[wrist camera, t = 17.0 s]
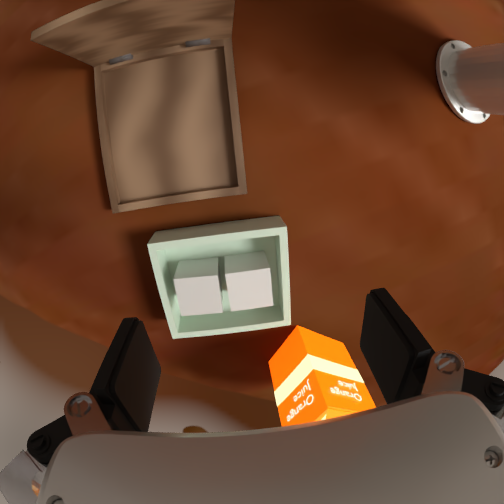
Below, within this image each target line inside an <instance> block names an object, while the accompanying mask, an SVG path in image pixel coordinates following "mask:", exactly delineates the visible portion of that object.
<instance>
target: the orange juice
mask: <svg viewBox="0 0 504 504" xmlns="http://www.w3.org/2000/svg"><path fill="white" fill-rule="evenodd" d="M269 367H270V372H271V377H272V381H273V386H274V391H275V392H274V393H275V398H276V403H277V406H278V410H279V415H280V420H281V425H282V426H289V425H296V424H302V423H308V422H314V421H319V420H325V419H330V418H334V417H339V416H344V415H348V414H352V413H356V412H360V411H364V410H368V409H372V408H376V406H375V404H374V402H373V400H372V398H371V396H370V394H369V392H368V390H367V388H366V386H365V384H364V382H363V380H362V378H361V376H360V374H359V372H358V370H357V369H356V367H355V365H354V363H353V361H352V359H351V357H350V355H349V353H348V352H347V350H346V348H345V346H344V344H343V343H342V342H339V341H336V340H334V339H331V338H328V337H326V336H323V335H321V334H318V333H315V332H313V331H310V330H308V329H305V328H303V327H300V326H298V325H297V326H296V327H295V329H294V330H293V331H292V333H291V334H290V335H289V337H288V338H287V339H286V340H285V342H284V343H283V344H282V346H281V347H280V348H279V349H278V351H277V352H276V353H275V354H274V356H273V357H272V358H271V359H270V361H269Z"/></svg>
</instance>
